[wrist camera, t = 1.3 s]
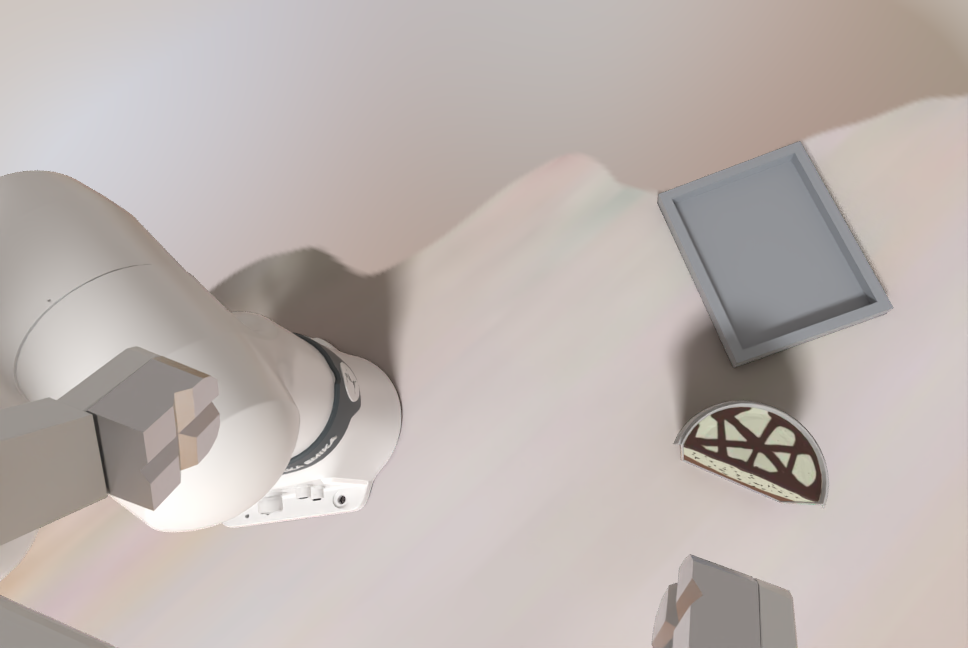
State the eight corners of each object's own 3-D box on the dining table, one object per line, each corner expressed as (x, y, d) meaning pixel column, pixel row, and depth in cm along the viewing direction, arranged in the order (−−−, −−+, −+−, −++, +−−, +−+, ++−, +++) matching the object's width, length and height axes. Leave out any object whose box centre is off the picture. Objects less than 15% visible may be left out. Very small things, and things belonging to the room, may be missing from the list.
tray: (733, 367, 66) (737, 363, 64) (657, 202, 72) (658, 194, 70) (885, 314, 65) (893, 307, 63) (794, 151, 71) (799, 140, 69)
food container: (820, 447, 63) (857, 433, 53) (797, 510, 62) (831, 507, 52) (689, 394, 66) (702, 372, 57) (665, 453, 65) (675, 441, 56)
